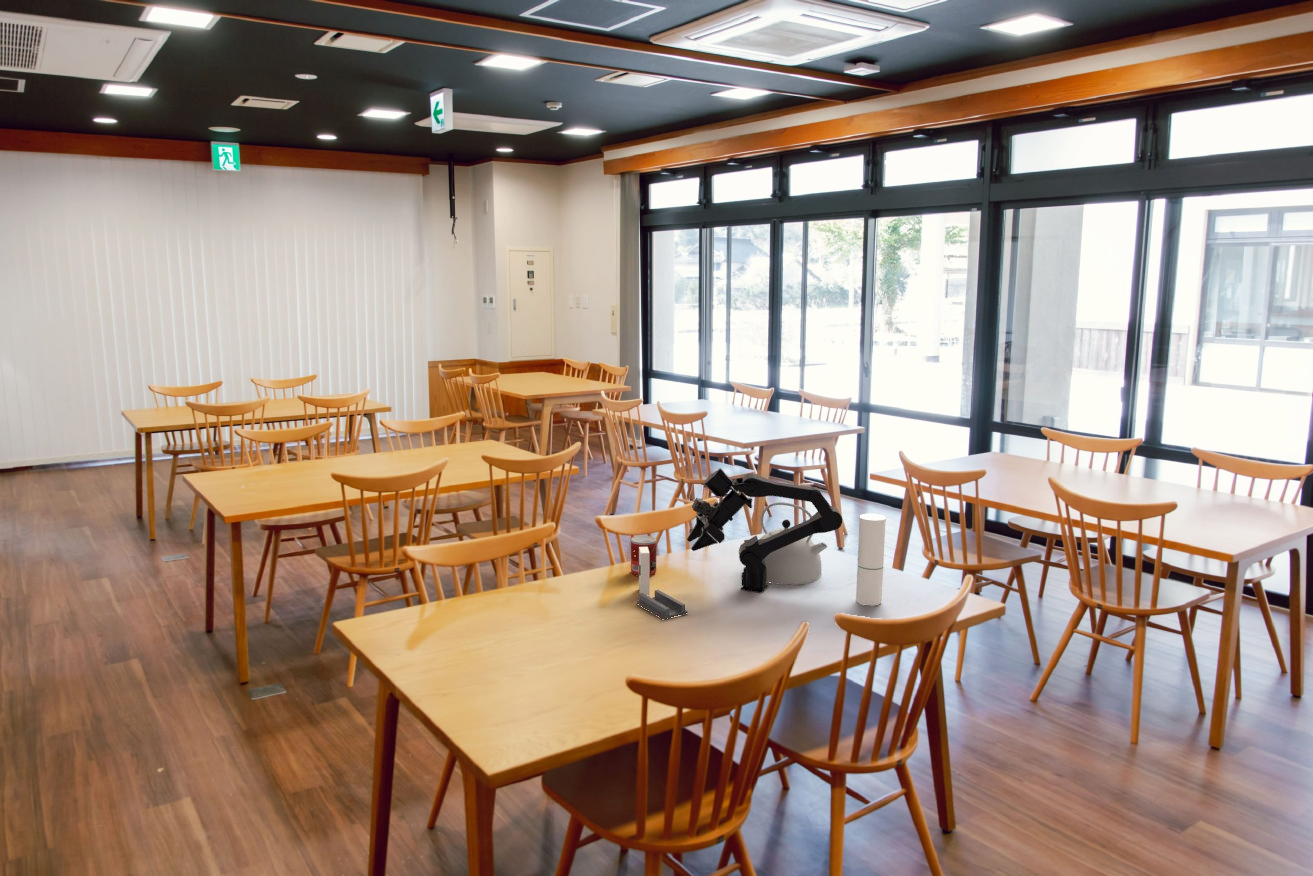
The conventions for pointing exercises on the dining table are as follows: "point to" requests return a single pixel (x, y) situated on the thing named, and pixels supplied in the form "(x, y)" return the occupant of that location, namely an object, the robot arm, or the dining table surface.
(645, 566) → the door panel
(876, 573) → the cylindrical container
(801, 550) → the kettle
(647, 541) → the canned food
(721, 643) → the dining table surface
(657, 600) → the bottom track
